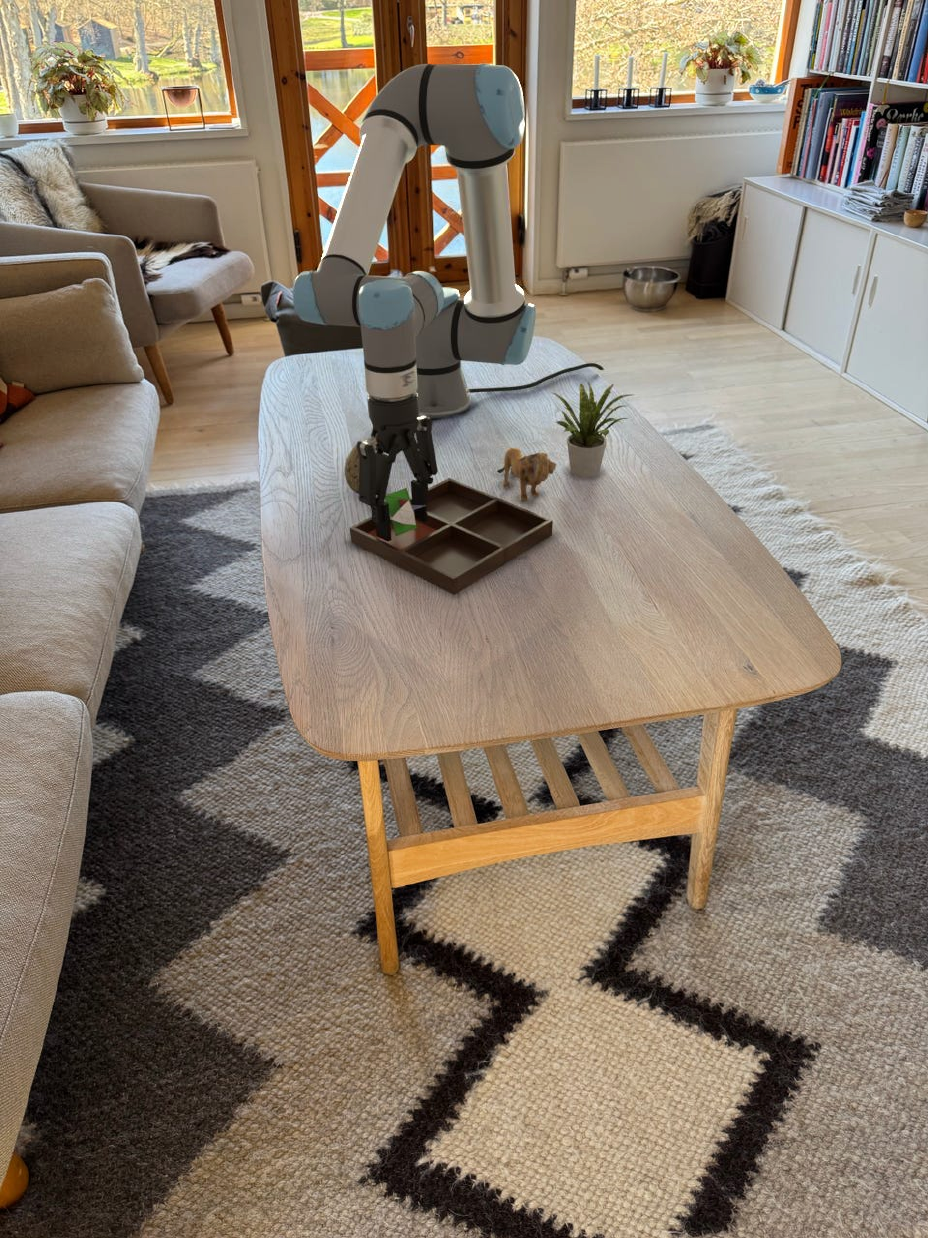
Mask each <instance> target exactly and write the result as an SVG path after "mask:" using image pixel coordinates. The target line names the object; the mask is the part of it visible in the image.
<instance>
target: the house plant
mask: <svg viewBox="0 0 928 1238" xmlns="http://www.w3.org/2000/svg"><path fill="white" fill-rule="evenodd" d="M587 385H588V391H589V394H588V393H587V391H586V389H585V385H583V384H582V383H580V385H579V414H578V416H579V417H578V418H579V419H578V418H577V415H576V413H575V412H574V410H573V408H572V406H571V404H570V403H569V402H568V401H567V400H566V399H564V397H562V396H560V395H559V394H557V393H555V392H552V391H550V393H551V394H553V395H554V396H556V397H557V398H558V399H559V400H560V401H561V402H562V403H563V405H564V406H563V405H562V407H563V408H564V409H566V411H568V413H569V414H570V416H571V417H572V419H573V420H574V422H573V420H572V419H571V418H570V417H569V415H568V414H567V413H566V412H565V411H563V410H561V413H562V415H563V417H564V420H557V421H555V423H556V424H557V425H559V426H561V427H563V428H564V431H563V433H565V432H570V433H571V434H570V435H568V436H567V438H566V445H567V454H568V461H569V468H570V474H572V476H574V477H577V478H582V479H591V478H595V477H597V476H598V475H599V474H600V471H601V467H602V463H603V459H604V455H605V451H606V447H607V443H608V440H607V436H608V435H609V433H610V430H609V428H610V427H612V426H613V425H614V424H616V423H618V422H619V423H621V420H627V419H629V417H620V418H614V417H609V416H610V415H612V413H614V412H617V410H618V409H621V408H625V407H627V405H618V406H615V407H614V408H612V407H611V406H612V405H613V404H614V403H616V402H618V401H619V400H621V399H622V398H625V397H631V396H634V394H630V393H629V394H622V395H619V396H616V397H614V398H613V399H612V400H611V401H609V402H608V403H607V404H606V406H605V407H604V405H605V403H606V401H607V400H608V397H609V396H610V394H611V393H612V391H611V390H612V389H613V387H614V383H612V384H611V385H609V386H608V387H607V388H606V389H605V390H604V392H603V393H602V395H601V396H600V398H599V400H598V401H597V400H596V401H595V396H596V394H594V393H595V392H594V390H593V387H592V385H591V383H590V382H589V381H587ZM603 407H604V408H603ZM602 409H603V410H602ZM608 410H610V411H609V412H608V414H606V416H605V417H604V418H603V420H602V421H601V422H599V421H600V420H601V418H602V417H603V416H604V414H605V413H606V411H608ZM598 422H599V423H598ZM609 422H610V423H609ZM608 423H609V424H608ZM575 424H576V425H575ZM597 424H598V425H597ZM605 424H608V425H607V426H606V427H605V428H604V429H601V428H602V427H603V426H604V425H605ZM600 429H601V430H600Z"/></svg>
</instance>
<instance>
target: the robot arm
mask: <svg viewBox="0 0 928 1238" xmlns="http://www.w3.org/2000/svg"><path fill="white" fill-rule="evenodd" d="M523 95H524V94H523V90H522V86H521V84H520V81H519V78H518V76H517V75H516V74H515V72H514V71H513V70H512V69H511V68H510V67H508V66H506V65H500V64H499V65H495V64H490V63H487V62H482V63H480V64H479V63H478V64H432V63H422V64H415V65H414V66H411V67H408V68H406V69H404V70H403V71H401V72H399V73H398V74H397V75H396V76H394V77H393V78H391V79H390V80H389V81H388V82H387V83H386V84H385V85H384V86H383V87H382V88H381V89H380V90H379V92H378V93H377V94H376V95H375V97H374V98H373V100H372V101H371V103H370V104H369V105H368V108H367V109H366V111H365V113H364V114H363V115H364V116H363V118H362V121H361V123H360V127H359V130H358V138H359V141H360V146H359V149H358V153H357V155H356V158H355V160H354V164H353V167H352V170H351V173H350V176H349V177H348V181H347V183H346V187H345V190H344V192H343V196H342V199H341V201H340V204H339V207H338V210H337V213H336V215H335V219H334V221H333V225H332V227H331V230H330V233H329V235H328V239H327V242H326V244H325V247H324V251H323V253H322V257H321V258H320V262H319V264H318V266H317V270H309V271H307V270H304V271H302V272H300V273H299V275H297V276H296V278H295V280H294V282H293V287H292V303H293V308H294V310H295V312H296V314H297V317H299V319H300V320H302V321H304V322H307V323H311V324H317V325H318V324H319V325H323V326H341V327H343V326H344V327H357V328H360V332H361V341H362V351H363V366H364V378H365V379H364V380H365V392H366V393H367V396H366V398H367V399H366V400H367V411H368V412H367V413H368V418H369V420H370V422H371V424H372V429H371V433H370V437H368V439H366V440H358V441H357V442H356V445H357V450H358V453H359V494H358V501H359V502H360V503H361V504H364V505H367V506H368V507H370V513H371V514H370V515H371V517H372V520H373V521H374V522H375V525H376V536H377V537H380V538H382V539H384V540H386V541H388V542H389V541H390V540H392V539H391V526H390V514H389V503H387V502H386V500H385V496H386V495H387V490H388V485H389V481H390V477H391V472H392V467H393V464H394V463H395V462H396V460H397V455H399V454H400V453H401V452H402V453H403V455H404V458H405V460H406V462H407V465H408V466H409V469H410V471H411V474H412V475H413V477H414V479H412V480H410V493H411V494H410V497H412V505H422V504H423V505H426V506H423V507H420V508H418V509H415V510H413V511H414V515H415V518H416V519H419V520H421V521H423V522H426V521H428V515H427V499H428V497H429V491H428V488H429V485H432V484H433V482H434V478H433V476H436V475H438V470H439V469H438V464H437V463H438V462H437V456H436V451H435V446H434V445H435V444H434V439H433V432H432V431H433V421H434V420H440V419H449V418H453V417H455V416H459V415H461V414H463V413H465V412H466V411H468V410H469V409H470V407H471V405H472V403H471V402H472V401H471V400H472V399H471V394H473V393H475V394H476V393H492V392H494V393H495V392H510V391H511V392H512V391H520V390H527V389H530V388H534V387H536V386H538V385H541V384H542V383H544V382H546V381H549V380H552V379H554V378H557V377H558V376H562V375H564V374H567V373H571V372H575V371H578V370H581V369H582V370H583V369H585V368H597V369H598V370H599V371H604V370H605V368H604V367H603V366H602V365H600V364H598V363H595V362H587V363H583V364H579V365H576V366H571V367H568V368H564V369H561V370H559V371H555V372H553V373H551V374H549V375H546V376H544V377H542V378H539V379H538V380H536V381H533V382H531V383H526V384H522V385H521V384H520V385H514V386H502V387H501V386H500V387H499V386H498V387H497V386H496V387H480V388H479V387H477V388H468V386H467V381H466V379H465V376H464V375H465V374H464V373H463V370H462V361H463V362H472V363H473V362H475V363H486V364H497V365H501V366H505V365H510V366H511V365H512V366H518V365H521V364H522V363H524V362H525V360H526V359H527V357H528V355H529V353H530V349H531V346H532V342H533V337H534V333H535V327H536V319H537V318H536V317H537V309H536V305H534V304H533V303H530V302H527V303H526V298H525V292H524V290H523V288H521V287H520V286H519V285H517V284H516V272H515V271H516V270H515V257H514V243H513V230H512V216H511V215H512V214H511V203H510V188H509V174H508V163H509V162H510V161H511V160H512V158H513V157H514V155H515V153H516V152H515V151H516V148H518V147H519V146H520V144H522V141H523V138H524V133H525V117H526V115H525V114H526V110H525V101H524V96H523ZM422 146H442V147H444V151H445V158H446V162H447V164H448V165H449V166H451V167H452V168H454V169H455V170H456V175H457V184H458V194H459V203H460V210H461V211H460V212H461V220H462V227H463V237H464V245H465V252H466V253H465V255H466V263H467V273H468V280H469V289H470V290H468V291H467V293H466V294H465V296H464V298H461V294H460V292H459V290H458V289H456V288H453V287H443V286H442V284H441V283H440V281H439V280H438V278H437V277H436V276H434V275H433V274H432V273H429V272H427V271H424V270H416V271H412V272H409V273H406V274H405V275H404V276H402V277H401V276H399V277H397V276H385V275H384V276H383V275H369V273H370V270H371V267H372V264H373V262H374V258H375V255H376V252H377V249H378V246H379V244H380V240H381V238H382V234H383V232H384V228H385V226H386V222H387V220H388V217H389V213H390V210H391V208H392V204H393V202H394V198H395V196H396V192H397V189H398V187H399V183H400V180H401V178H402V174H403V172H404V168H405V166H406V164H408V163H409V162H410V161H412V160H413V159H414V157H415V156H416V152H417V149H418V148H419V147H422ZM363 441H365V442H363ZM412 493H413V494H414V495H415V496H414V495H413V494H412ZM413 501H414V502H413ZM416 502H417V503H416ZM419 503H420V504H419ZM424 507H425V508H424ZM423 510H424V511H423ZM421 513H423V514H421ZM420 515H421V516H420ZM419 517H420V518H419Z"/></svg>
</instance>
